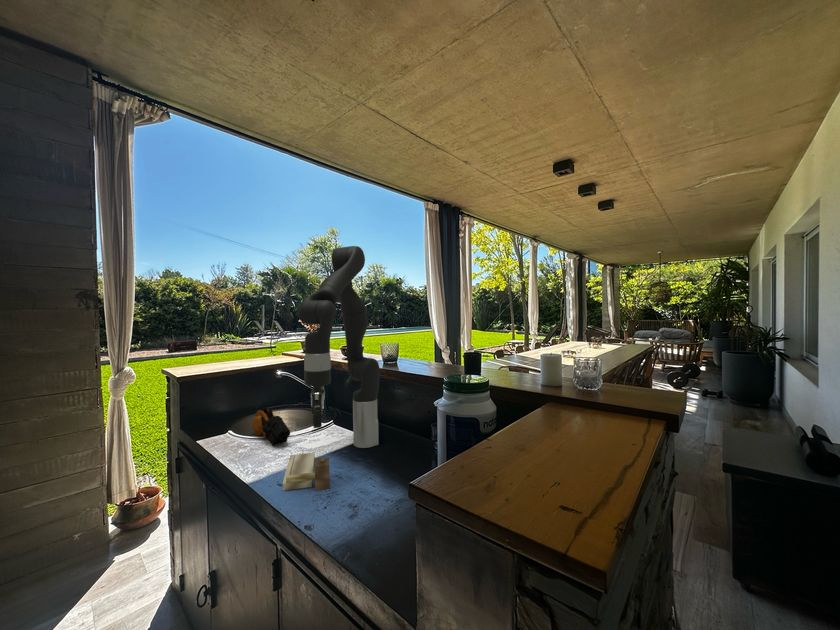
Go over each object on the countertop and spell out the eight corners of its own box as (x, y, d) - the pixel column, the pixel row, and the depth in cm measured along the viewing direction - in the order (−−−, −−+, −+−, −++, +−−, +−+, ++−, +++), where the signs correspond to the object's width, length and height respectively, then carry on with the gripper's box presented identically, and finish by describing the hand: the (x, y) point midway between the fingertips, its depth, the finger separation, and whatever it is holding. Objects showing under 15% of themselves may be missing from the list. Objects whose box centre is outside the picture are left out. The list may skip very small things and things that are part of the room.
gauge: (329, 480, 104) (329, 455, 104) (329, 488, 99) (329, 462, 99) (287, 486, 101) (286, 459, 101) (285, 495, 96) (284, 467, 96)
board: (314, 458, 120) (314, 452, 119) (311, 486, 100) (311, 479, 100) (290, 460, 117) (290, 454, 117) (282, 490, 98) (282, 483, 98)
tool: (269, 466, 129) (274, 433, 125) (247, 430, 143) (251, 400, 139) (290, 459, 135) (295, 427, 130) (267, 425, 149) (271, 395, 145)
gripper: (330, 371, 95) (331, 429, 95) (331, 363, 109) (331, 414, 109) (302, 372, 93) (302, 432, 93) (306, 364, 107) (306, 416, 107)
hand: (318, 422), depth 101 cm, fingers open, 8 cm apart
